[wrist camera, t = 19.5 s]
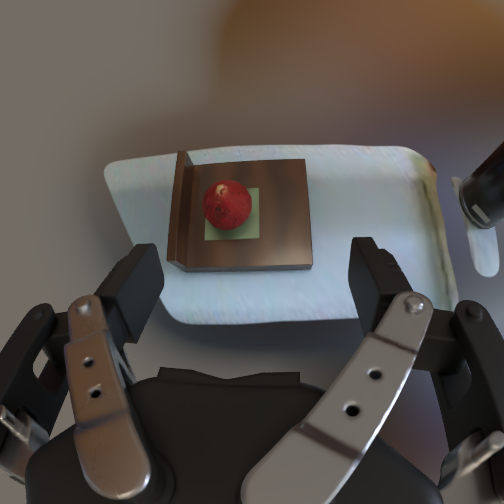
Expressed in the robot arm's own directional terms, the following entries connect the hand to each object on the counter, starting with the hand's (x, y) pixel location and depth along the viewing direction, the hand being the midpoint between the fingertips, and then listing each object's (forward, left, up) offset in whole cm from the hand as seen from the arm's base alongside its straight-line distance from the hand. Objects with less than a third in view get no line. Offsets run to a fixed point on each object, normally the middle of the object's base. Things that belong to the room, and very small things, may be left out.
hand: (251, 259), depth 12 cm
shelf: (+4, -12, -27) cm, 29 cm away
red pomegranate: (+5, -11, -24) cm, 27 cm away
